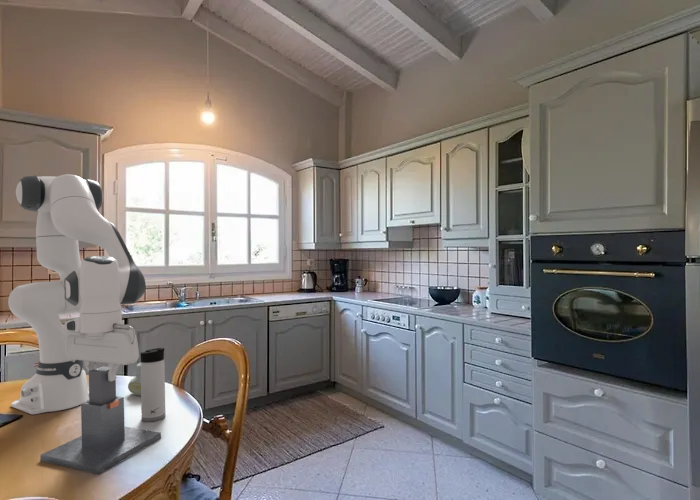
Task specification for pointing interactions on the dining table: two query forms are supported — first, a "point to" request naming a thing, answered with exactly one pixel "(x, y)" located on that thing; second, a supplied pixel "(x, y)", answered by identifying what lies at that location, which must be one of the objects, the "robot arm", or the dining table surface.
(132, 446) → the stand
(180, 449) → the dining table surface
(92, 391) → the post
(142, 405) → the travel mug
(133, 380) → the air freshener
